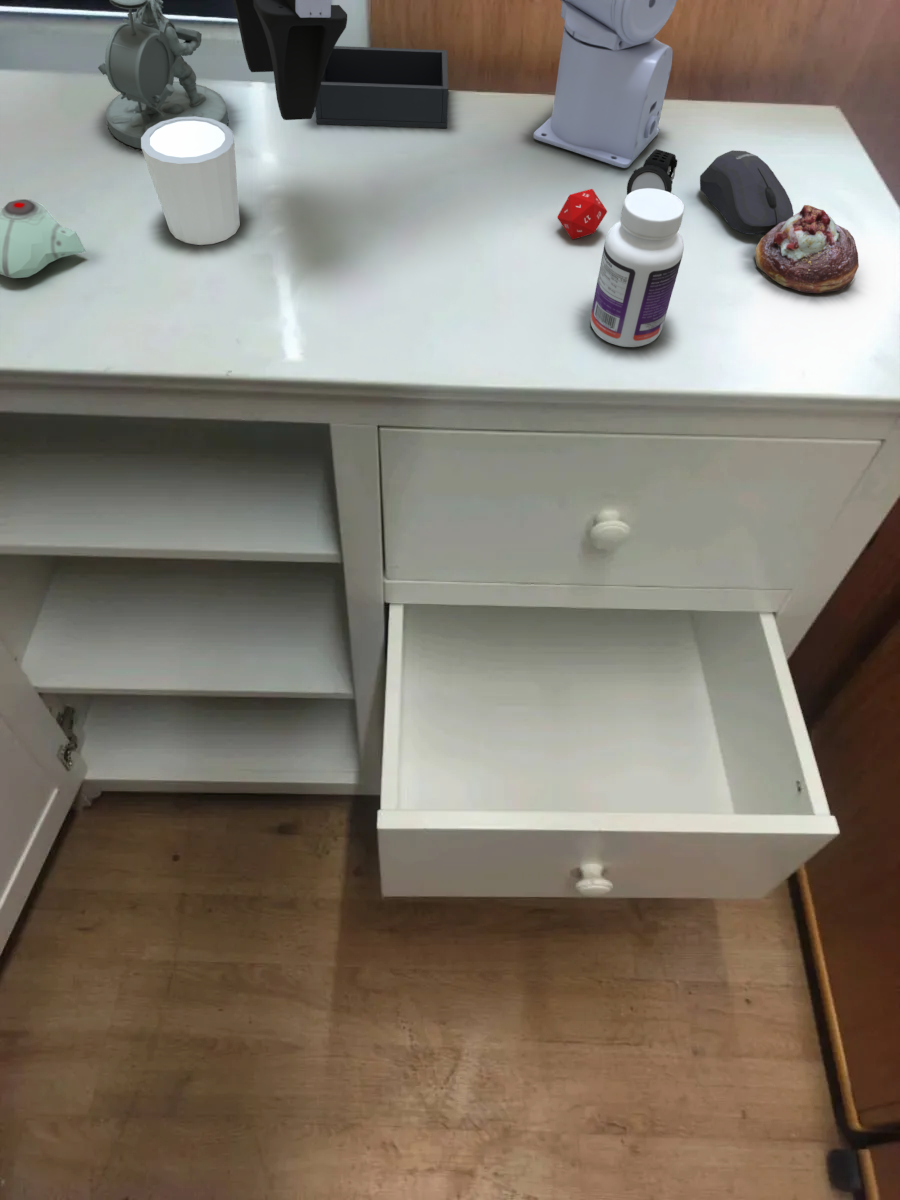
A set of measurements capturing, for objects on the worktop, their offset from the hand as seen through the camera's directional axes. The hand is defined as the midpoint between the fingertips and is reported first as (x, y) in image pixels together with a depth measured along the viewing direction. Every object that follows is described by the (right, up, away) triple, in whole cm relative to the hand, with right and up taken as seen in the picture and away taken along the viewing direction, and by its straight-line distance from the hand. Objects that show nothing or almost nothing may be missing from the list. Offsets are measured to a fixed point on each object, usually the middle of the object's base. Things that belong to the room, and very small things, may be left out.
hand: (279, 93), depth 63 cm
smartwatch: (+29, -4, +12) cm, 32 cm away
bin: (+6, +11, +21) cm, 24 cm away
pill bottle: (+25, -16, +3) cm, 30 cm away
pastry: (+41, -10, +8) cm, 43 cm away
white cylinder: (-8, -6, +8) cm, 13 cm away
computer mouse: (+37, -3, +13) cm, 39 cm away
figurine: (-13, +7, +17) cm, 23 cm away
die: (+23, -6, +10) cm, 26 cm away
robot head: (-20, -13, +1) cm, 24 cm away
